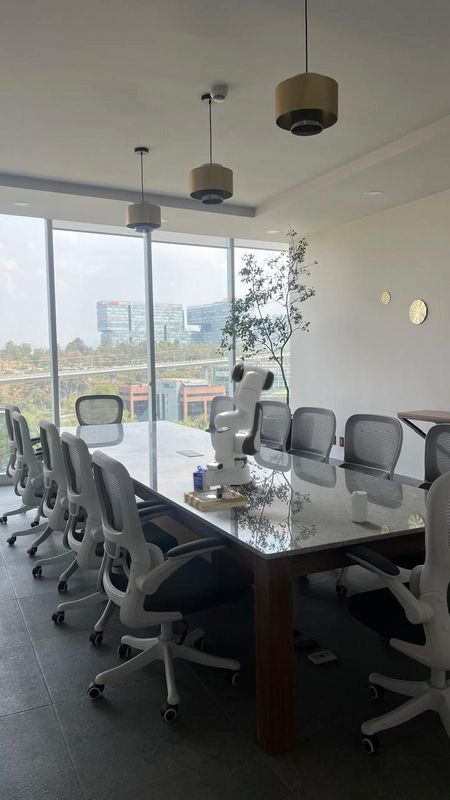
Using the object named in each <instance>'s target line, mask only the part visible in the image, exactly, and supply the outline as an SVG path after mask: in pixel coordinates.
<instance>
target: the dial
mask: <svg viewBox="0 0 450 800" xmlns="http://www.w3.org/2000/svg"><path fill="white" fill-rule="evenodd" d="M216 489H217V491H208V492H202V493H199V494H197V498H198V499H200V500H202V501H211V500H219V499H223V498H225V499H227V498H233V496H232V494H231V493H229V492H228V493H222V488H221V487H216Z"/></svg>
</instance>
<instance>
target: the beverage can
mask: <svg viewBox="0 0 450 800" xmlns="http://www.w3.org/2000/svg"><path fill="white" fill-rule="evenodd" d="M368 497H369V496H368V493H367V492H366V491H363V490H355V491H352V494H351V515H350V516H351V518H350V519H351V520H352V522H353V521H354V523H356V522H358V523H357V524H364V523H366V522H367V521H368V515H369V513H368V507H369V506H368V505H369V504H368V503H369V501H368ZM363 522H364V523H363Z"/></svg>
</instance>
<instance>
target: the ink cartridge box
mask: <svg viewBox="0 0 450 800" xmlns="http://www.w3.org/2000/svg"><path fill="white" fill-rule="evenodd" d="M196 468H197V470H196V471H194V472H192V478H193V491H202V490H210V489H211V486H208V485H207V484H206V472H207V470H208V469H207V468H206V469H205V468H202V466H201V465H198V466H197V467H196Z"/></svg>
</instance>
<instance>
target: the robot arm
mask: <svg viewBox="0 0 450 800" xmlns="http://www.w3.org/2000/svg"><path fill="white" fill-rule="evenodd" d="M230 378H231V379H232V381H233V382H235V383H237V385H236V388H235V391H234V394H233V397H232V402H233V404H234V406H235V407H236V409H235V410H231V411H230V410H229V411H224V412H220V413H218V414H216V415H215V417H214V419H213V421H214V422H213V423H214V424H213V425H214V426H215V429H216V430H215V433H214V442H213V443H214V446H213V447H214V451H215V454H214V459H212V460H211V461H210V462H208V463H206V469H208V470H207V472H206V484H207V485H208V486H210V488H211V487H217V486H219V488H222V493H228V489H230V487H231V485H233V486H234V485H236V486H237V485H239V486H241V485H246V484H250V483H251V482H252V481H253V478H251V470H250V466H249V465H248V456H251V457H253V456H256V455H257V454H258V453H259V451H260V450H261V449H262V448H261V447H262V439H261V438H262V437H261V435H262V429H263V428H262V427H263V417H264V416H263V415H264V407H263V405H262V403H261V401H260V400H261V399H260V398H261V395H262V391H265V392H267V391H269V390H271V388H272V387H273V385H274V384H275V373H274V372H272V371H271V370H269V369H268V370H267V369H265V368H264V367H260V366H257V365H253V364H248V363H245V362H242V361H238V362H236V363H235V364H234V365H233V367H232V369H231V371H230ZM248 430H249V432H247V433H244V431H248ZM241 431H243V433H242V432H241Z"/></svg>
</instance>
